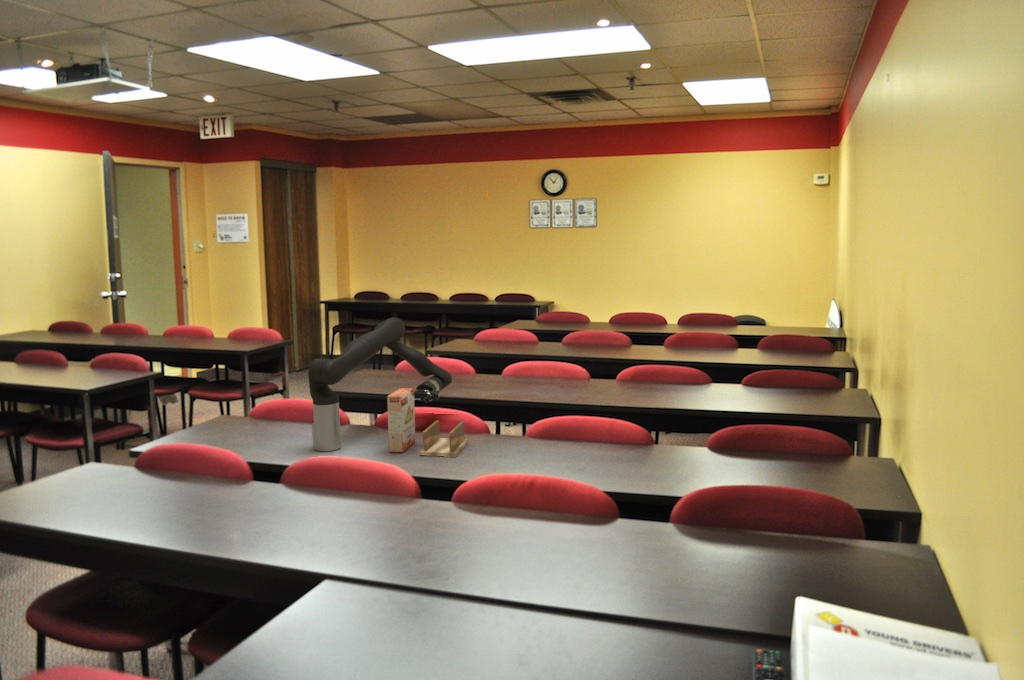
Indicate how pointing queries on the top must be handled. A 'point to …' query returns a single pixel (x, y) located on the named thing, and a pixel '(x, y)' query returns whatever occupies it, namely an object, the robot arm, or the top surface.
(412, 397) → the cracker box
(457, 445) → the book rack
